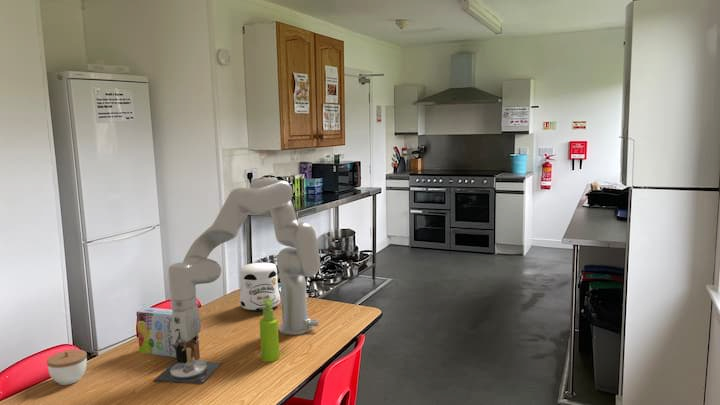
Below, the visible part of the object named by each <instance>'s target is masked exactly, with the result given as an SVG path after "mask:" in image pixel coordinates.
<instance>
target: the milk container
mask: <svg viewBox="0 0 720 405" xmlns="http://www.w3.org/2000/svg"><path fill="white" fill-rule="evenodd" d="M239 274H240V275H239V276H240V277H239V278H240V291H239V296H238V297H239V304H240V307H241V308H242V309H243V310H245V311H249V312H263V310H264V309H265V302H264V300H267V299H270V300H271V301H272V302H273V304H274V305H273V306H270V308H271V309H273V310H274V308H277V307H278V306H279V305H280V303H281V289H280V288H279V283H278V267H277V264H275V263H272V262H254V263H248V264H244V265H242V266H241V267H240V270H239Z"/></svg>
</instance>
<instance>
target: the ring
mask: <svg viewBox="0 0 720 405" xmlns="http://www.w3.org/2000/svg"><path fill="white" fill-rule="evenodd" d="M179 345H181V346H182V343H180V342H179ZM190 347H191V348H192V355H193V356H194V357H193V360H196V361H198V360H201V359H200V358H201V354H200V342H199V340H198V341H197V340H192V339H191V340H190V341H189V342H186V346H185V350H186V351H187V362H186V363H179V364H189V363H191V350H190ZM175 359H176V360H175V361H177V358H176V357H175Z"/></svg>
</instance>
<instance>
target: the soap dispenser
mask: <svg viewBox="0 0 720 405" xmlns="http://www.w3.org/2000/svg"><path fill="white" fill-rule="evenodd" d="M264 302H265V309H264V310H263V311H262V317H263V318H261V319H259V337H260V352H261V354H260V356H261V357H260V358H261V361H263V362H266V363H271V362H272V363H273V362H276V361H278V360H279V359H280V344H279V343H280V342H279V341H280V340H279V322H278V318H277V317H274V308H273V309H271V308H270V306H273V305H274V304H273V302H272V301H271V300H270V299H267V300H264Z"/></svg>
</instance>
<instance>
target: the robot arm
mask: <svg viewBox="0 0 720 405" xmlns="http://www.w3.org/2000/svg"><path fill="white" fill-rule="evenodd" d="M292 197H293V187H292V185H291V184H290V183H289V182H287V181H286V180H282V179H273V178H272V179H271V178H270V179H269V178H258V179H256V180H254V181H252V183H251V185H250V187H249V188H248V187H237V188H234V189H232V190H231V191H230V192H229V195H228V196H227V197H226V200H225V201H224V203H223V205H222V207H221V209H220V210H219V213H218V214H217V216H216V218H215V220H214V221H213V223H212V224H211V226H210V227H208V228H207V229H205V230H204V232H202V233H201V234H200V235H199V236H198V237H197V238H196V239H195V240H194V241H193V243H192V244H191V245H190V247H189V249H188V251H187V252H186V254H185V256H184V258H183V260H182V262H176V263H172V264H171V265H170V266H169V267H168V282H169V283H168V284H169V293H170V294H169V295H170V306H171V307H170V308H171V309H170V310H173V311H172V335H173V340H172V346H173V347H174V349H175V351H176V357H175V359H176V358H177V363H186V362H187V351H186V350H185V346H186V342H189V341H190V340H191V339H192V340H197V341H198V342H199V334H200V332H201V331H202V330H201V329H202V327H201V326H202V325H201V318H200V317H201V316H200V311H199V307H198V302H197V290H196V285H202V284H203V285H204V284H211V283H213V282H215V281H217V280H218V279H219V278H220V276H221V274H222V268H221V265H220V264H219V262H217V261H215V260H214V259H211V258H208V257H209V256H210V254H211V253H212V252H213V250H215V249H216V248H217V247H218V246H220V245H222V244H224V243H226V242H229V241H231V240H233V239H234V238H236V237H237V236H238V234H239V231H240V230H241V228H242V226H243V224H244V223H245V221H246V218H247V217H248V215H260V214H264V213H268V212H270V214H271V219H272V224H273V229H274V235H275V238H276V241H277V243H279V245H281V246H285V248H283V249H280V251H279V252H278V254H277V256H276V268H277V272H278V274H279V281H280V296H281V297H280V302H281V320H282V324H280V325H278V333H279V332H280V333H281V334H283V335H287V336H298V335H303V334H306V333H308V332H310V331H311V330H312V329H313V327H319V321H318V320H317V319H311V318H310V315H308V300H307V299H308V297H307V282H306V278H307V277H308V278H309V277H314V276H315V275H317V273H318V272H319V270H320V267H321V258H320V251H319V250H320V249H319V245H318V238H317V234H316V232H315V231H316V230H315V229H314V228H313V226H312V225H311V224H310V223H307V222H303V221H298V219H297V216H296V212H295V208H294V204H293V201H292V200H291V199H292ZM180 338H181V339H182V340H179V339H180ZM179 342H180V343H182V346H181V345H179Z"/></svg>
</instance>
